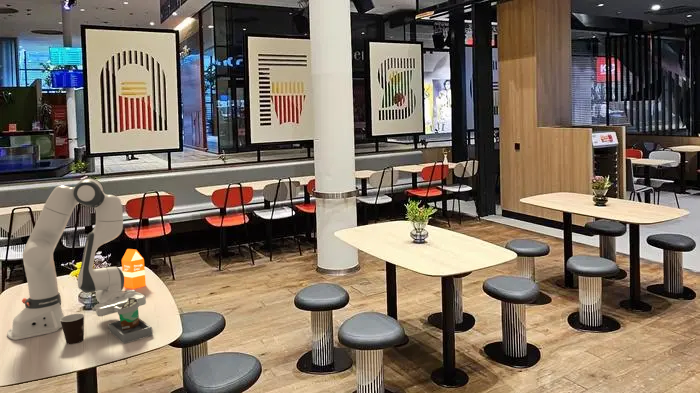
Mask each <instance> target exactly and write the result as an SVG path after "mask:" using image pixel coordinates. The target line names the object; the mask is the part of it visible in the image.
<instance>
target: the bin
mask: <svg viewBox="0 0 700 393" xmlns="http://www.w3.org/2000/svg"><path fill="white" fill-rule="evenodd" d="M107 326H108V332H109V333H110V334H111V335H113V336H114V337H115V338H116V339H118V340H119V341H120V342H122V344H124V345H125V344H127V343H130V342H134V341H137V340H140V339H143V338H148V337H151V336H153V328H152V327H153V326H151V325H149V324H148V323H146V322H145V321H144V320H142V319H141V318H139V325H138V326H136V327H134V328H132V329H129V330H122V326H121V322H120V320H117V321H113V322H110V323H108V325H107Z"/></svg>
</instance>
